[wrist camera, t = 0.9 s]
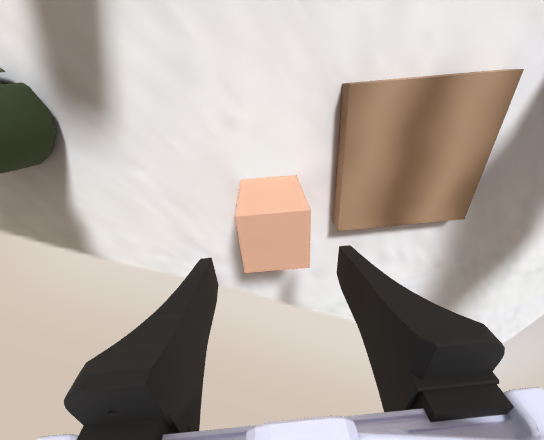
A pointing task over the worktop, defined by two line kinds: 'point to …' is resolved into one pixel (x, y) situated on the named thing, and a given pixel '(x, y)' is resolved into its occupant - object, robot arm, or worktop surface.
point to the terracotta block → (273, 224)
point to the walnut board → (416, 146)
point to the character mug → (23, 128)
